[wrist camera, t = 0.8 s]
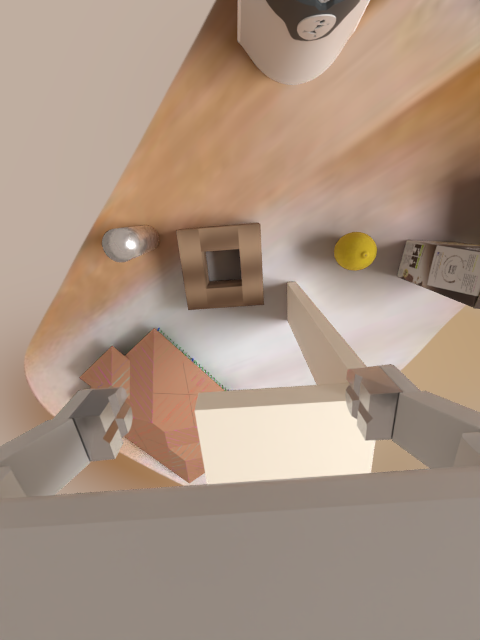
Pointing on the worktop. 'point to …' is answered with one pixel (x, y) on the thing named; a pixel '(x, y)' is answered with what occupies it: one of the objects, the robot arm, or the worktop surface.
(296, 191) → the worktop surface
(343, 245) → the lemon
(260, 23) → the robot arm
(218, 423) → the cream panel with ledge
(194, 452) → the house
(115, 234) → the peg
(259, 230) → the socket block
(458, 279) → the coffee box
